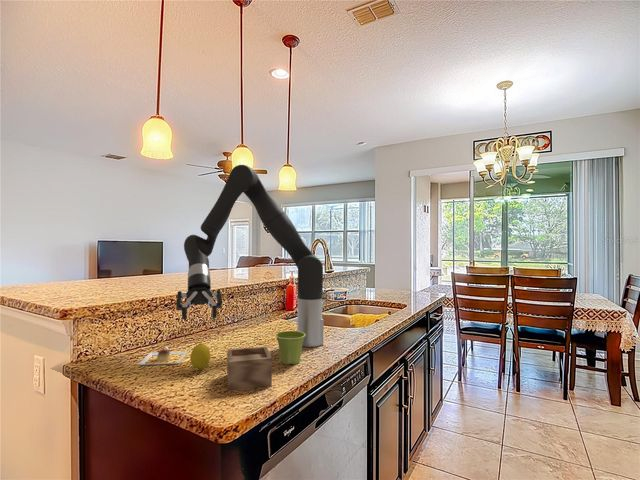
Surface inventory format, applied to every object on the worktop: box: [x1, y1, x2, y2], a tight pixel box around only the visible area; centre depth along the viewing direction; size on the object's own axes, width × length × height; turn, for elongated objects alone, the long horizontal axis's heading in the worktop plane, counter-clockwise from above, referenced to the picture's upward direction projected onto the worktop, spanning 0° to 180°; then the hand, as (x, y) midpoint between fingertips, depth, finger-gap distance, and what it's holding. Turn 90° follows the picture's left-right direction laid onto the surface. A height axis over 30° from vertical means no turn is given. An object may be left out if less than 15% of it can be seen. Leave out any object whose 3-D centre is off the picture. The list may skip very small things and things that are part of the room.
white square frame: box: [137, 345, 188, 366], centre depth 111 cm, size 12×12×5 cm
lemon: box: [190, 342, 211, 372], centre depth 102 cm, size 6×6×8 cm
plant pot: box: [275, 330, 305, 365], centre depth 110 cm, size 9×9×9 cm
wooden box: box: [226, 346, 273, 392], centre depth 95 cm, size 11×11×8 cm
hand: (199, 318), depth 111 cm, fingers open, 8 cm apart
